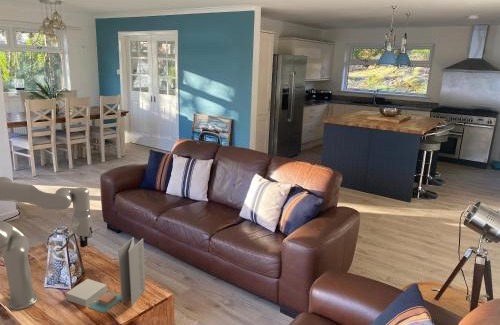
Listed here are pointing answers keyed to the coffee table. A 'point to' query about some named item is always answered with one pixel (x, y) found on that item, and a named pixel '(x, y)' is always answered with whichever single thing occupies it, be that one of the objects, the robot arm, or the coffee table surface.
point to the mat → (103, 307)
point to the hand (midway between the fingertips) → (83, 246)
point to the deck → (86, 292)
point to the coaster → (107, 299)
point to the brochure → (132, 270)
